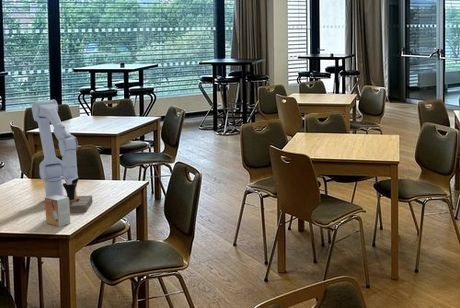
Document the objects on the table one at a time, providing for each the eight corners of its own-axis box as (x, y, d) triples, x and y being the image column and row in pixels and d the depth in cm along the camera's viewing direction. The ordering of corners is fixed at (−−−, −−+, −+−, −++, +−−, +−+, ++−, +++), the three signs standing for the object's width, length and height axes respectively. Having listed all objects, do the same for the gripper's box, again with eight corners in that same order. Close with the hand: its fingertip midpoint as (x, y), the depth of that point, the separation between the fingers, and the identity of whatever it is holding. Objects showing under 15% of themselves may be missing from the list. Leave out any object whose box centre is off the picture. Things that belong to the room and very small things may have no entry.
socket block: (60, 203, 280) (59, 196, 280) (92, 202, 281) (92, 195, 280) (51, 213, 264) (51, 206, 264) (86, 212, 265) (85, 205, 264)
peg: (67, 206, 274) (66, 186, 272) (77, 206, 275) (76, 185, 273) (67, 209, 270) (66, 188, 269) (77, 208, 271) (75, 187, 269)
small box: (46, 223, 250) (44, 197, 248) (58, 220, 255) (56, 194, 253) (59, 227, 245) (57, 200, 243) (71, 223, 250) (69, 197, 248)
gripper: (61, 163, 276) (64, 193, 278) (58, 169, 262) (60, 202, 264) (78, 162, 277) (80, 192, 279) (75, 168, 263) (78, 201, 265)
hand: (72, 197), depth 272 cm, fingers open, 7 cm apart
